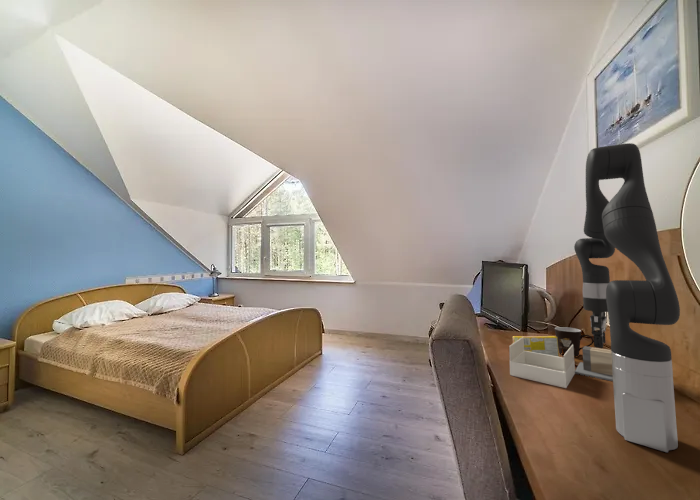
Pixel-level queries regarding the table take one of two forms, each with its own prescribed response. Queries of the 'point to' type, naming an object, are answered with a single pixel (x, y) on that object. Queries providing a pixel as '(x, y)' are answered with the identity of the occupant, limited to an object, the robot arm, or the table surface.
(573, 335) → the coffee mug
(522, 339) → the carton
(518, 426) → the table surface
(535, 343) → the candy box
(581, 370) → the rubber mat
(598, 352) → the birch block
